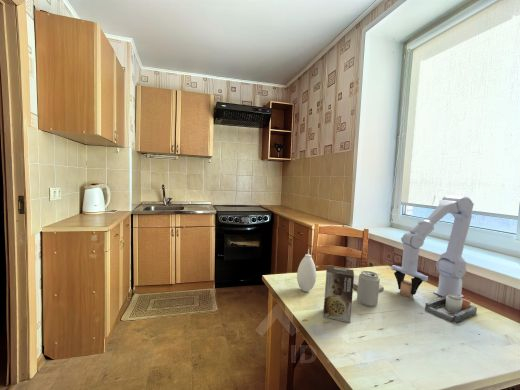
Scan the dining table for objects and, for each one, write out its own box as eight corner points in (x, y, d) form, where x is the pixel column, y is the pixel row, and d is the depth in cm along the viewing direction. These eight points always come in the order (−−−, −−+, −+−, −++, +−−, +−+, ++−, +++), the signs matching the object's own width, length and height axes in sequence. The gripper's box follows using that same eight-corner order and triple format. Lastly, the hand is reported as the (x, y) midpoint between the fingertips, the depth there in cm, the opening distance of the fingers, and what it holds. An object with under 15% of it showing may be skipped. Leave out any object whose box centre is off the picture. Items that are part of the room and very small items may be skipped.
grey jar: (448, 306, 102) (450, 292, 101) (463, 312, 97) (465, 298, 97) (442, 308, 99) (444, 294, 99) (457, 315, 95) (459, 300, 95)
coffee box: (350, 314, 90) (354, 269, 89) (350, 323, 84) (354, 275, 83) (323, 308, 93) (327, 265, 92) (322, 316, 87) (326, 270, 86)
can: (379, 309, 95) (382, 277, 95) (358, 305, 97) (361, 275, 96) (374, 300, 103) (377, 271, 102) (355, 297, 104) (357, 268, 103)
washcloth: (350, 277, 128) (350, 271, 128) (384, 291, 113) (385, 284, 113) (335, 281, 121) (335, 275, 121) (370, 297, 106) (370, 289, 106)
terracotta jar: (404, 291, 114) (405, 279, 113) (415, 296, 109) (416, 283, 109) (397, 293, 111) (398, 280, 111) (409, 298, 107) (410, 285, 107)
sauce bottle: (317, 295, 104) (320, 251, 102) (298, 294, 103) (301, 250, 102) (311, 287, 111) (315, 246, 110) (294, 286, 111) (297, 245, 110)
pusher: (448, 303, 104) (449, 292, 104) (470, 311, 98) (471, 300, 97) (445, 304, 103) (446, 293, 103) (467, 312, 97) (469, 301, 96)
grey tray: (445, 301, 106) (446, 295, 106) (476, 313, 97) (477, 307, 97) (424, 309, 97) (424, 303, 97) (455, 323, 88) (456, 316, 88)
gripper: (388, 256, 114) (385, 286, 114) (422, 267, 101) (419, 300, 102) (397, 255, 117) (394, 283, 118) (432, 265, 105) (428, 297, 106)
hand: (406, 291), depth 110 cm, fingers closed on terracotta jar, 5 cm apart
